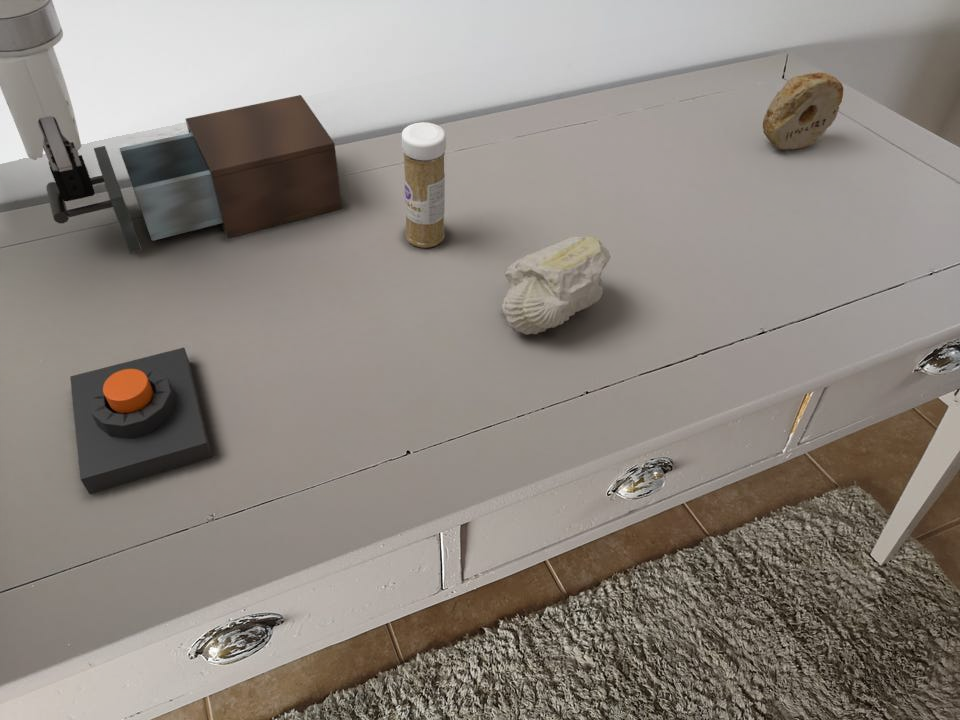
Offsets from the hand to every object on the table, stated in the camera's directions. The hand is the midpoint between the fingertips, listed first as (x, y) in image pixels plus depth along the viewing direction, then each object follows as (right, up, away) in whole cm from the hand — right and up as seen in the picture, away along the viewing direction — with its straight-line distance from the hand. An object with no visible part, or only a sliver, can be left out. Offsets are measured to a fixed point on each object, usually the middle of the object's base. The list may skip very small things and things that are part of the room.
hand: (78, 194), depth 82 cm
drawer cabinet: (+18, +2, +11) cm, 21 cm away
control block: (+13, -23, -13) cm, 30 cm away
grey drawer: (+5, -2, +6) cm, 8 cm away
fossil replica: (+50, -13, -1) cm, 51 cm away
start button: (+13, -21, -16) cm, 29 cm away
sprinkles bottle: (+36, -4, +7) cm, 37 cm away
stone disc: (+85, +12, +23) cm, 89 cm away
